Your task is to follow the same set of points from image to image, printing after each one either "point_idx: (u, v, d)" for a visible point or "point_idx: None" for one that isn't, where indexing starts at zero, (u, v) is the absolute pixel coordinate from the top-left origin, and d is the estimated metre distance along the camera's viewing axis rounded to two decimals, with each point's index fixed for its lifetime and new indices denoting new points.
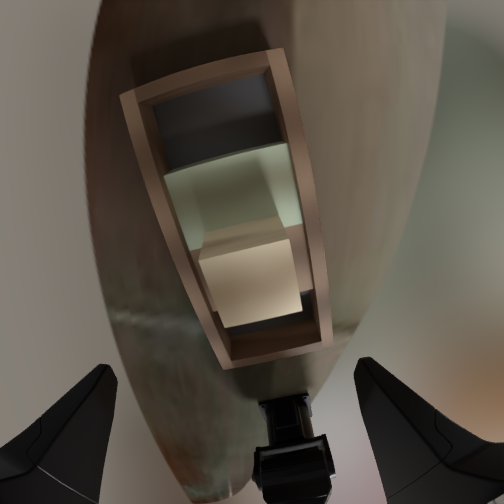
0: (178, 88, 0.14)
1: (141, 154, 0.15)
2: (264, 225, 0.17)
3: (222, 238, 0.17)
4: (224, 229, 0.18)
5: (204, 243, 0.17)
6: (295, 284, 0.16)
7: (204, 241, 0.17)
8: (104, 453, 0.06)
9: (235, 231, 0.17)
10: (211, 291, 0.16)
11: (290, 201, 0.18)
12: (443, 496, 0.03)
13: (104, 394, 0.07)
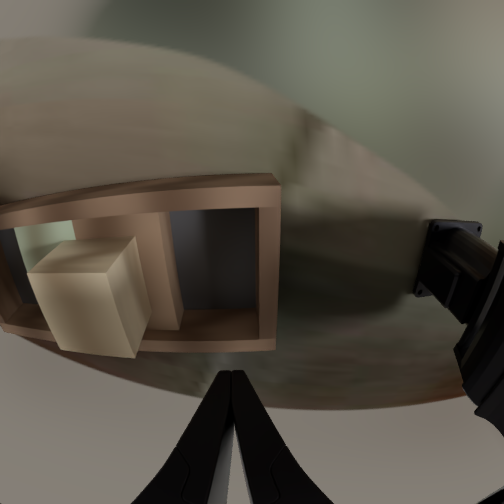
0: None
1: (30, 334, 0.15)
2: None
3: None
4: None
5: None
6: (69, 275, 0.10)
7: None
8: None
9: None
10: (88, 352, 0.12)
11: (51, 226, 0.13)
12: None
13: None
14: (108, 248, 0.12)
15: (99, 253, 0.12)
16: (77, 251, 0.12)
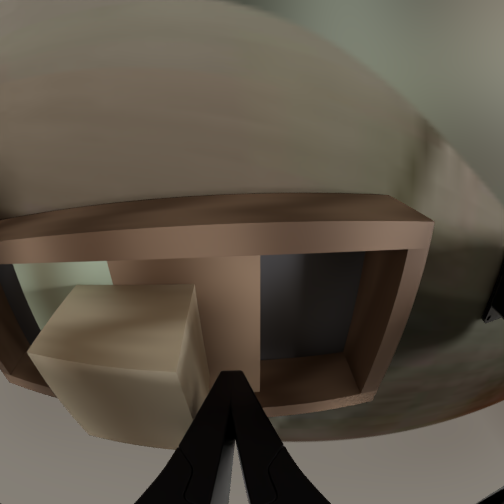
0: None
1: (46, 391, 0.11)
2: None
3: None
4: None
5: None
6: (102, 369, 0.06)
7: None
8: None
9: None
10: (132, 443, 0.08)
11: (71, 263, 0.09)
12: None
13: None
14: (158, 311, 0.08)
15: (146, 322, 0.08)
16: (104, 312, 0.08)
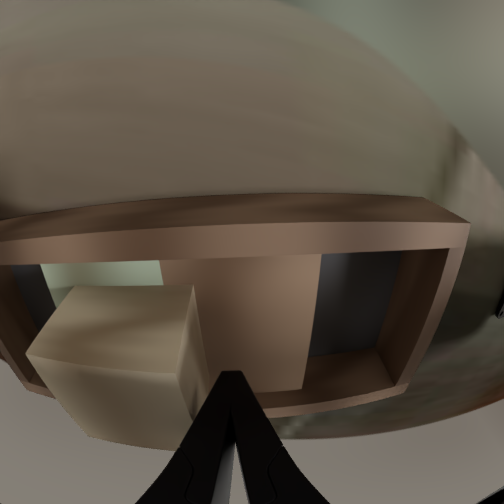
0: (10, 349, 0.10)
1: None
2: None
3: None
4: None
5: None
6: (101, 370, 0.06)
7: None
8: (232, 467, 0.07)
9: None
10: (131, 444, 0.08)
11: (115, 262, 0.09)
12: None
13: None
14: (157, 312, 0.08)
15: (144, 323, 0.07)
16: (102, 313, 0.08)
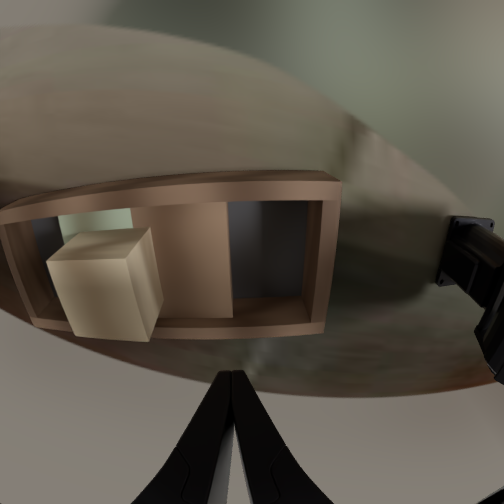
0: (26, 289, 0.16)
1: (67, 327, 0.17)
2: None
3: None
4: None
5: None
6: (89, 262, 0.11)
7: None
8: None
9: None
10: (102, 337, 0.13)
11: (105, 214, 0.14)
12: None
13: None
14: (125, 238, 0.14)
15: (117, 242, 0.13)
16: (95, 241, 0.13)
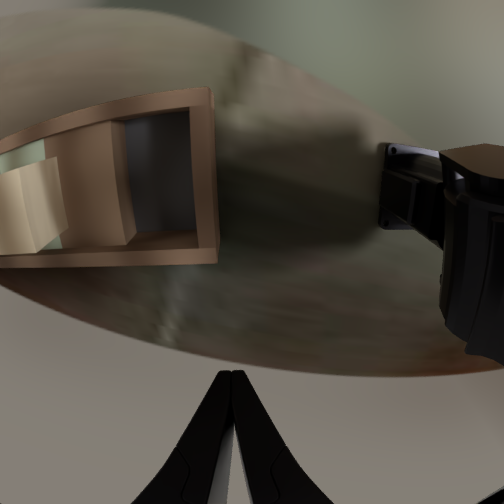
0: None
1: (1, 264, 0.15)
2: None
3: None
4: None
5: None
6: None
7: None
8: None
9: None
10: (8, 253, 0.12)
11: (28, 151, 0.13)
12: None
13: None
14: None
15: None
16: None
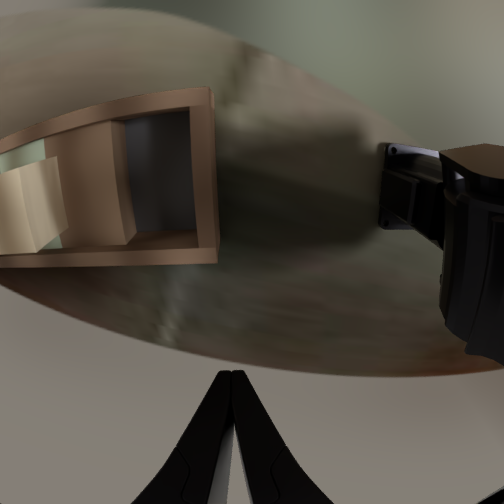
0: None
1: (1, 263, 0.15)
2: None
3: None
4: None
5: None
6: None
7: None
8: None
9: None
10: (8, 252, 0.12)
11: (28, 151, 0.13)
12: None
13: None
14: None
15: None
16: None
